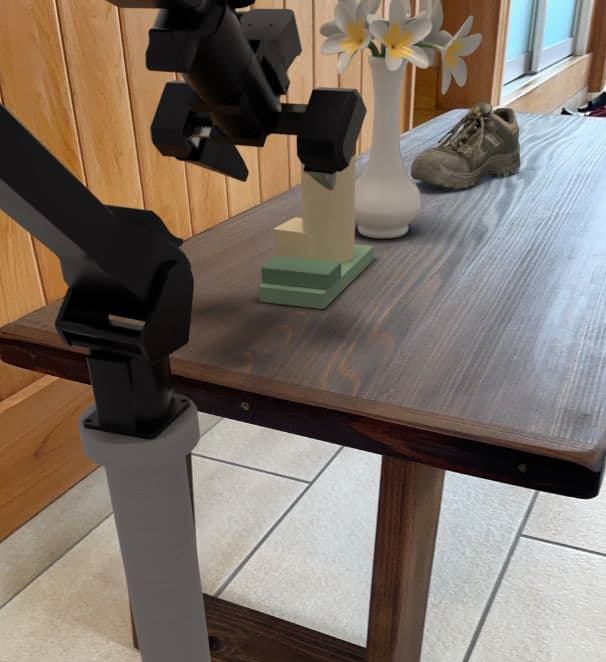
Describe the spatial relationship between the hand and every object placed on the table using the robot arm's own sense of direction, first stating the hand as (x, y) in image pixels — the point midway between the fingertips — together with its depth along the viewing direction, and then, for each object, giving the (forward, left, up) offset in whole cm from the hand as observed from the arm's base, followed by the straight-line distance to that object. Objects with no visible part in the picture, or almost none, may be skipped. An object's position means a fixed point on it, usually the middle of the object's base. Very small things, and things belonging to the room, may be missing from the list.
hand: (288, 181), depth 80 cm
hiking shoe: (+54, -5, -12) cm, 55 cm away
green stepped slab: (+7, 0, -12) cm, 13 cm away
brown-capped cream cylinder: (+10, +1, -10) cm, 14 cm away
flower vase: (+26, -2, -12) cm, 28 cm away
